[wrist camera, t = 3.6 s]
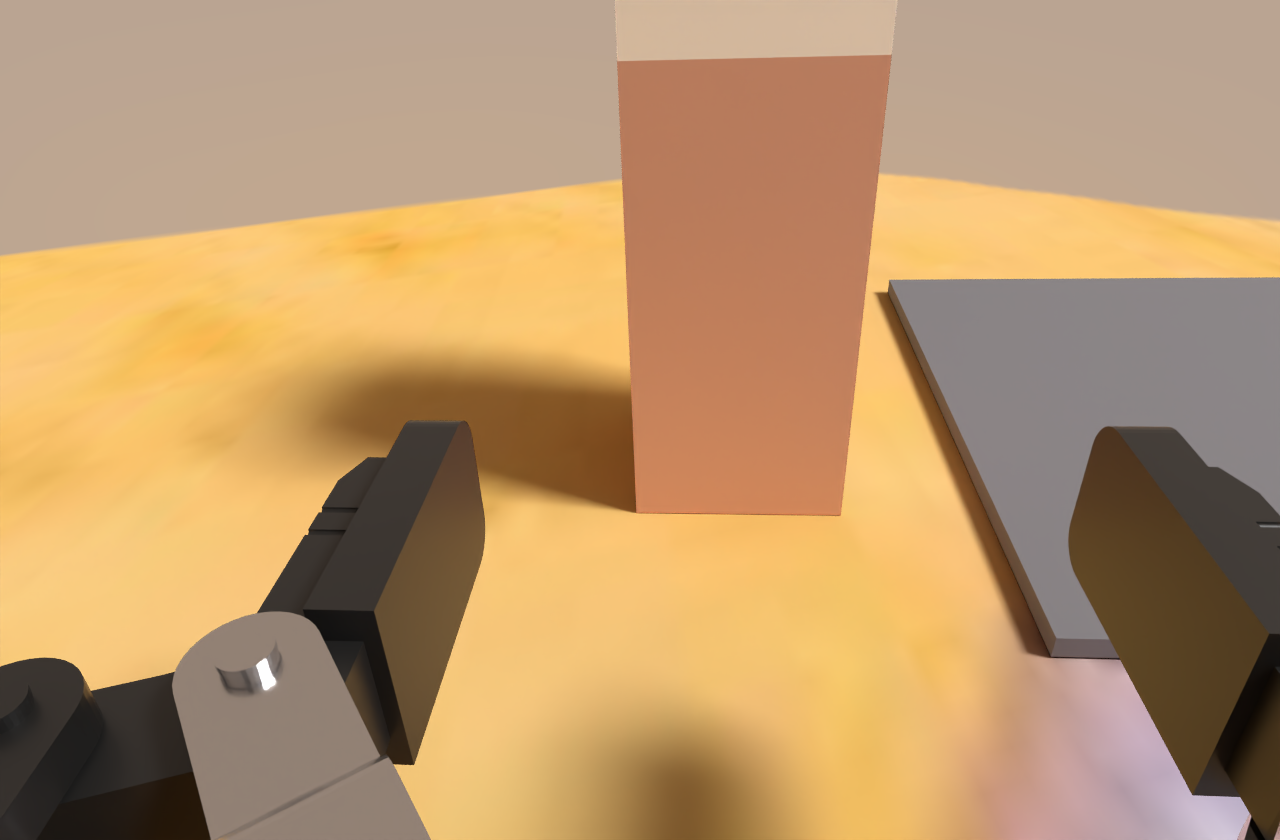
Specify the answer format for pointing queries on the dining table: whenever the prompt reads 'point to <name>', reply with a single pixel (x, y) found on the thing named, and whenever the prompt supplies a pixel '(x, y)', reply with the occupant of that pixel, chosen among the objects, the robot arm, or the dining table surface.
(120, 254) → the dining table surface
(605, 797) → the dining table surface
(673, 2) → the block
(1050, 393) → the mat
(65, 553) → the dining table surface
